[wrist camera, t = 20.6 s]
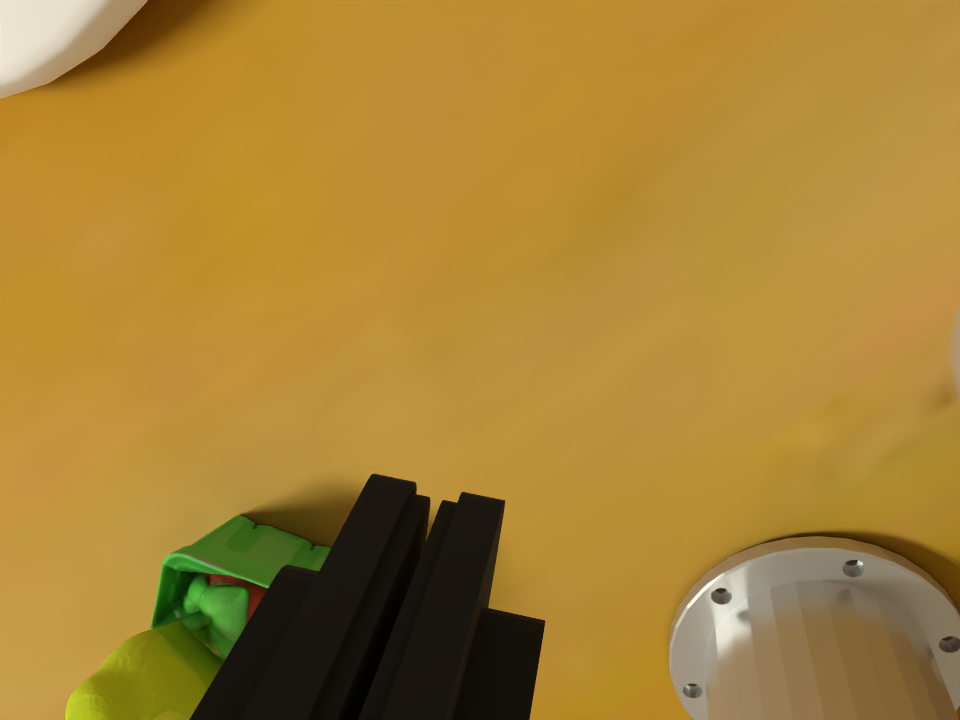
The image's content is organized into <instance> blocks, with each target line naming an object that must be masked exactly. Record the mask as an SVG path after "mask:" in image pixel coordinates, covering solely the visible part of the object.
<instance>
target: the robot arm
mask: <svg viewBox="0 0 960 720" xmlns="http://www.w3.org/2000/svg"><path fill="white" fill-rule="evenodd" d="M416 491H417V487H416V483H415V482H412V481H407V480H402V479H397V478H393V477H388V476H383V475H378V474H372V475H371V476H370V478H369V479H368V481H367V483H366V485H365V487H364V488H363V490H362V492H361V494H360V496H359V498H358V500H357V501H356V503H355V505H354V507H353V509H352V511H351V513H350V515H349V516H348V518H347V520H346V522H345V524H344V526H343V528H342V529H341V531H340V533H339V535H338V537H337V539H336V541H335V543H334V544H333V546H332V548H331V550H330V552H329V554H328V556H327V558H326V559H325V561H324V563H323V565H322V567H321V569H320V571H316V570H311V569H306V568H302V567H297V566H293V565H288V564H287V565H285V566H283V567H282V568H281V569H280V570H279V572H278V573H277V575H276V576H275V578H274V579H273V581H272V583H271V584H270V586H269V588H268V589H267V591H266V593H265V594H264V596H263V598H262V599H261V601H260V603H259V604H258V606H257V608H256V609H255V611H254V613H253V614H252V616H251V618H250V619H249V621H248V623H247V624H246V626H245V628H244V629H243V631H242V633H241V634H240V636H239V638H238V639H237V641H236V643H235V644H234V646H233V648H232V649H231V651H230V653H229V654H228V656H227V658H226V659H225V661H224V663H223V664H222V666H221V668H220V669H219V671H218V673H217V674H216V676H215V678H214V679H213V681H212V683H211V684H210V686H209V688H208V689H207V691H206V693H205V694H204V696H203V698H202V699H201V701H200V703H199V704H198V706H197V708H196V709H195V711H194V713H193V714H192V716H191V718H190V719H189V720H529V719H530V713H531V706H532V700H533V694H534V688H535V682H536V676H537V670H538V663H539V657H540V651H541V645H542V639H543V633H544V626H545V620H540V619H536V618H531V617H526V616H522V615H517V614H513V613H508V612H504V611H499V610H494V609H490V608H488V605H489V599H490V593H491V587H492V581H493V575H494V569H495V563H496V557H497V551H498V545H499V538H500V532H501V526H502V520H503V514H504V507H505V500H500V499H495V498H490V497H485V496H480V495H475V494H470V493H466V492H462V493H461V495H460V497H459V500H458V503H456V502H451V501H446V500H443V501H442V502H441V504H440V507H439V510H438V512H437V515H436V517H435V520H434V523H433V525H432V528H431V531H430V533H429V536H428V538H427V541H426V535H427V527H428V519H429V511H430V497H427V496H422V495H417V494H416ZM425 543H426V544H425ZM668 645H669V669H670V673H671V678H672V682H673V687H674V689H675V691H676V693H677V695H678V697H679V700H680V702H681V704H682V706H683V707H684V709H685V710H686V711H687V713H688V714H689V715H690V716H691V718H692V719H693V720H959V718H958V716H957V713H956V712H957V710H958V708H959V707H960V614H959V611H958V609H957V608H956V606H955V605H954V603H953V602H952V600H951V599H950V597H949V596H948V594H947V592H946V591H945V590H944V589H943V588H942V587H941V586H940V585H939V584H938V583H937V582H936V581H935V580H934V579H933V578H932V577H931V576H930V575H929V574H928V573H927V572H926V571H924V570H923V569H921V568H920V567H918V566H917V565H915V564H914V563H912V562H911V561H909V560H907V559H906V558H904V557H902V556H900V555H898V554H895V553H893V552H891V551H888V550H886V549H884V548H881V547H879V546H876V545H872V544H868V543H864V542H860V541H856V540H852V539H846V538H835V537H823V536H812V537H797V538H786V539H782V540H777V541H773V542H769V543H764V544H760V545H757V546H755V547H752V548H750V549H747V550H745V551H742V552H740V553H737V554H735V555H733V556H731V557H729V558H728V559H726V560H725V561H723V562H721V563H720V564H718V565H716V566H715V567H713V568H712V569H710V570H709V571H708V572H707V573H706V574H705V575H704V576H703V577H702V578H701V579H700V580H698V581H697V582H696V583H695V584H694V585H693V586H692V588H691V589H690V590H689V592H688V593H687V595H686V596H685V597H684V599H683V600H682V602H681V603H680V605H679V607H678V610H677V612H676V614H675V617H674V619H673V622H672V625H671V631H670V638H669V644H668Z"/></svg>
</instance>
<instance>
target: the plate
mask: <svg viewBox="0 0 960 720" xmlns="http://www.w3.org/2000/svg"><path fill="white" fill-rule="evenodd" d="M147 1H148V0H0V99H2V98H5V97H8V96H11V95H14V94H17V93H20V92H23V91H27V90H30V89H33V88H36V87H39V86H42V85H45V84H48V83H50V82H52V81H53V80H55V79H56V78H58V77H60V76H61V75H63V74H64V73H66V72H67V71H69V70H71V69H72V68H74V67H75V66H77V65H79V64H80V63H82V62H83V61H85V60H86V59H88V58H90V57H91V56H93V55H94V54H96V53H97V52H99V51H100V50H101V49H103V48H104V47H105V46H106V45H107V44H108V43H109V41H110V40H111V39H112V38H113V37H114V36H115V35H116V34H117V33H118V32H119V31H120V30H121V29H122V28H123V27H124V26H125V25H126V24H127V22H128V21H129V20H130V19H131V18H132V17H133V16H134V15H135V14H136V13H137V12H138V11H139V10H140V9H141V8H142V7H143V6H144V4H145V3H146V2H147Z"/></svg>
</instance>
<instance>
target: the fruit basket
mask: <svg viewBox="0 0 960 720" xmlns="http://www.w3.org/2000/svg"><path fill="white" fill-rule="evenodd" d="M330 550H331V548H329V547H326V546H318V545H316V546H313V545H312V543H310V542H308V541H307V540H306V539H303V538H301V537H298V536H295V535H293V534H290V533H287V532H284V531H282V530H279V529H276V528H273V527H270V526H268V525H257V526H256V525H255V523H254V522H252V521H251V520H249V519H248V518H246V517H243V516H239V515H238V516H236V517H234V518H232V519H231V520H229V521H228V522H226V523H224V524H223V525H221V526H220V527H218V528H217V529H215V530H214V531H212V532H211V533H209V534H207V535H206V536H204V537H203V538H201V539H200V540H198V541H197V542H195V543H194V544H192V545H190V546H185V547H183V548H181V549H179V550H177V551H175V552H173V553H171V554H169V555H168V556H166V558H165V559H164V560H163V563H162V568H161V574H160V581H159V586H158V591H157V598H156V603H155V608H154V613H153V618H152V623H151V630H149V631H145V632H142V633H139V634H137V635H135V636H132V637H131V638H129V639H127V640H126V641H124V642H123V643H122V644H120V645H119V646H118V647H117V648H116V649H115V650H114V651H112V653H111V654H110V655H109V656H108V657H107V658H106V660H105V661H104V662H103V664H102V665H101V666H100V668H99V669H98V670H97V671H96V672H95V673H94V674H93V675H92V676H90V677H89V678H87V679H86V680H85V681H83V682H82V683H81V684H80V685H79V686H78V687H77V688H76V689H75V691H74V692H73V693H72V695H71V696H70V698H69V700H68V703H67V707H66V714H65V720H189V719H190V718H191V716H192V714H193V713H194V711H195V709H196V708H197V706H198V704H199V703H200V701H201V699H202V698H203V696H204V694H205V693H206V691H207V689H208V688H209V686H210V684H211V683H212V681H213V679H214V678H215V676H216V674H217V673H218V671H219V669H220V668H221V666H222V664H223V663H224V661H225V659H226V658H227V656H228V654H229V653H230V651H231V649H232V648H233V646H234V644H235V643H236V641H237V639H238V638H239V636H240V634H241V633H242V631H243V629H244V628H245V626H246V624H247V623H248V621H249V619H250V618H251V616H252V614H253V613H254V611H255V609H256V608H257V606H258V604H259V603H260V601H261V599H262V598H263V596H264V594H265V593H266V591H267V589H268V588H269V586H270V584H271V583H272V581H273V579H274V578H275V576H276V575H277V573H278V572H279V570H280V569H281V568H282V567H283V566H285V565H287V564H288V565H293V566H297V567H302V568H306V569H311V570H316V571H320V569H321V567H322V565H323V563H324V561H325V559H326V558H327V556H328V554H329V552H330Z"/></svg>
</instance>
